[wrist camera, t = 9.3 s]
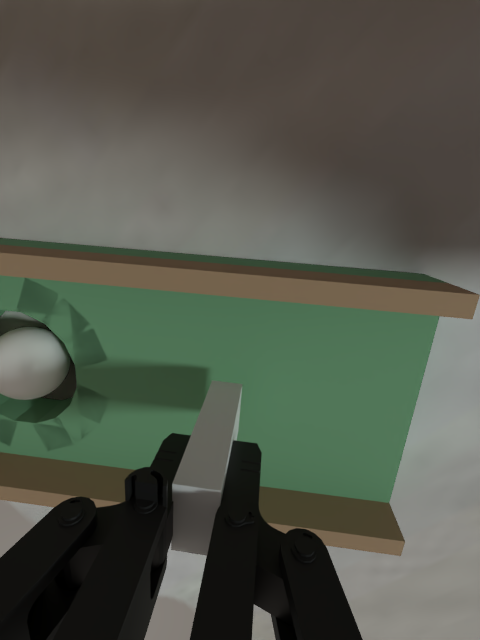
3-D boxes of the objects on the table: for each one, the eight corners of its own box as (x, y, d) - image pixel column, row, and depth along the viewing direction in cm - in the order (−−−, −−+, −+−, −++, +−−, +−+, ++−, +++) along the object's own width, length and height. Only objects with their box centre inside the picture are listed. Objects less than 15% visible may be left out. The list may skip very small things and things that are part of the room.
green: (-63, 232, 19) (-171, 237, 15) (423, 274, 18) (479, 295, 13) (-23, 432, 24) (-96, 486, 19) (372, 482, 22) (400, 555, 17)
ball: (81, 328, 22) (11, 327, 21) (55, 325, 17) (-33, 324, 17) (78, 393, 21) (8, 393, 21) (51, 405, 17) (-38, 407, 17)
